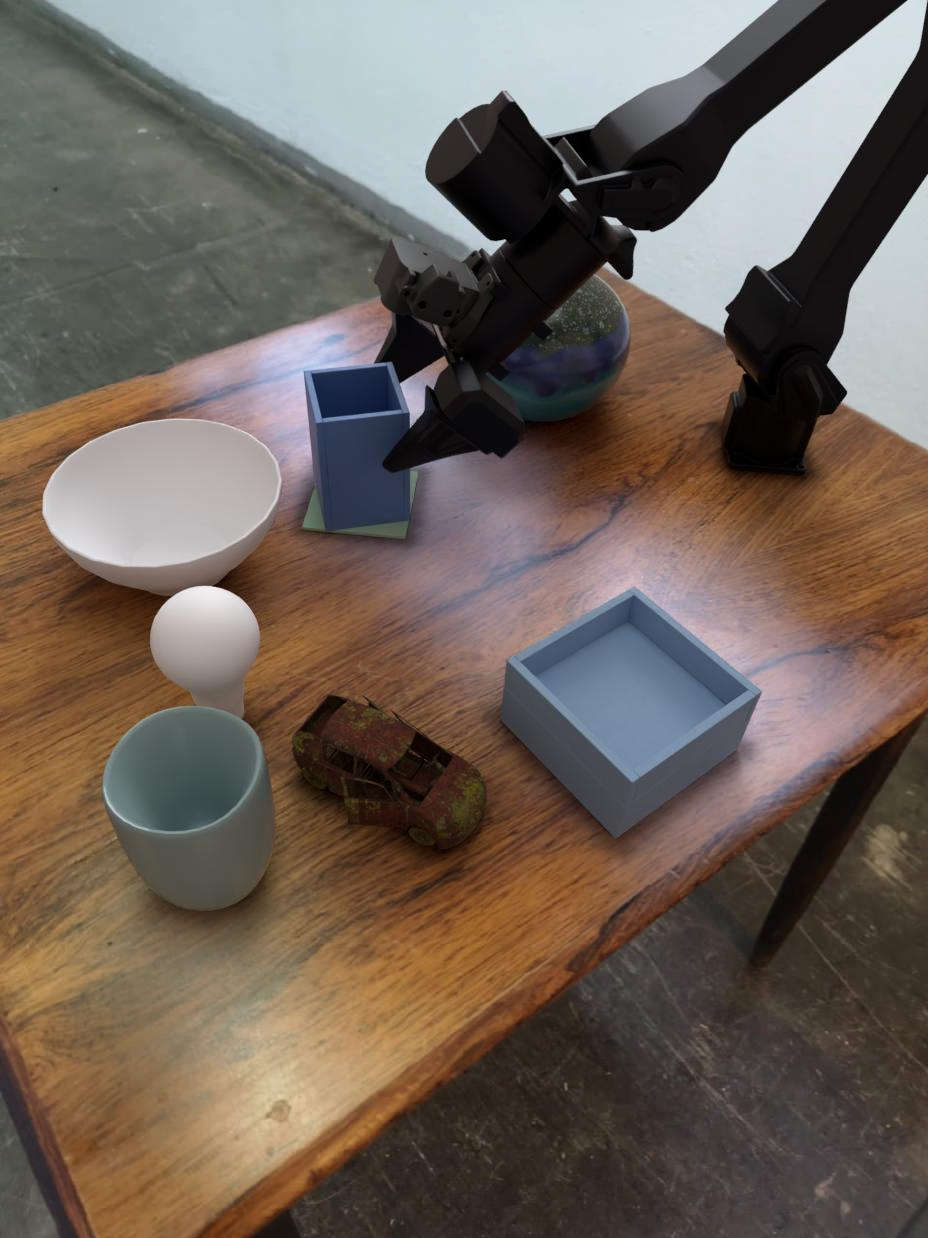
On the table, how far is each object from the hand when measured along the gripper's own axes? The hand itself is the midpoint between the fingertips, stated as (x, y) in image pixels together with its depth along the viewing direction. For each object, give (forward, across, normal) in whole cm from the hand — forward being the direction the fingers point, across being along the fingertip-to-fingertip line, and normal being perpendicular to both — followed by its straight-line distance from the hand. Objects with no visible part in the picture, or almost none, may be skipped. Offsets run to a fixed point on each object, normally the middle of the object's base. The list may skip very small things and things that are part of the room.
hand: (375, 430), depth 71 cm
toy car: (+8, +27, +2) cm, 28 cm away
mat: (+6, 0, +4) cm, 7 cm away
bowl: (+16, +4, -6) cm, 17 cm away
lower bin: (-3, +26, +12) cm, 29 cm away
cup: (+15, +30, -6) cm, 34 cm away
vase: (-7, -11, +16) cm, 21 cm away
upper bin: (+5, 0, +4) cm, 6 cm away
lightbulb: (+14, +20, -5) cm, 25 cm away
